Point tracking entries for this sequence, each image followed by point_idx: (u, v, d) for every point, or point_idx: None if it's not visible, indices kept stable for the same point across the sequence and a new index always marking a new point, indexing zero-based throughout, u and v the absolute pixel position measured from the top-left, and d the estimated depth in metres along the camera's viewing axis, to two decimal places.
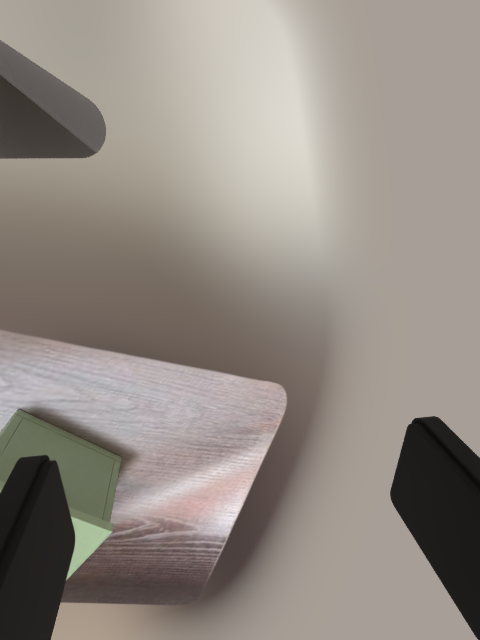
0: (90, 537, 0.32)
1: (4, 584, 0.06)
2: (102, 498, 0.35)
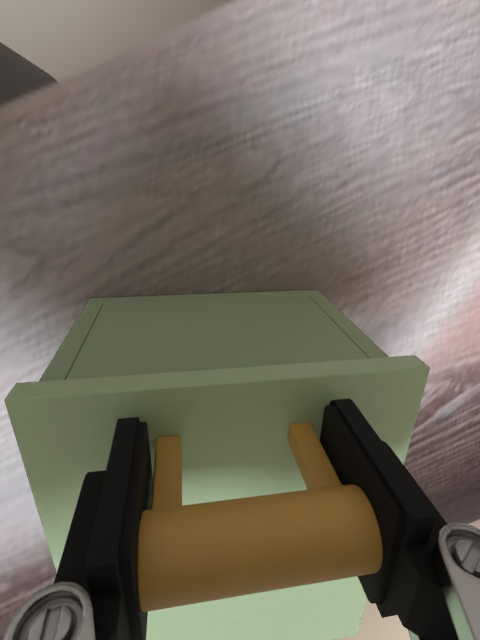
0: (384, 409, 0.11)
1: (136, 510, 0.07)
2: (340, 340, 0.14)
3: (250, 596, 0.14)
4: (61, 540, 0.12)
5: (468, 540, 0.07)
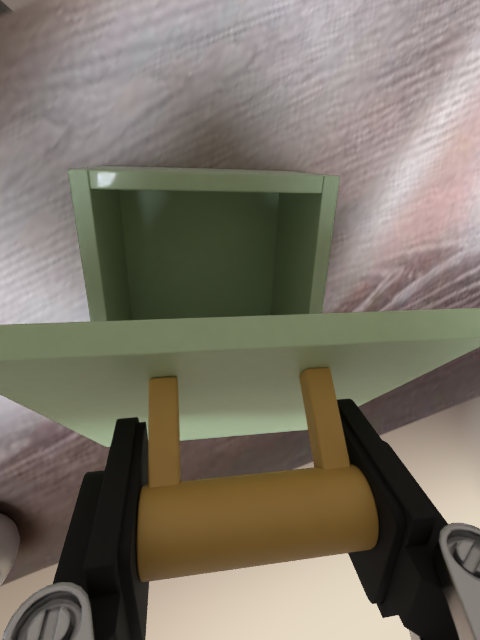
0: (419, 359, 0.10)
1: (135, 510, 0.07)
2: (297, 173, 0.19)
3: (234, 424, 0.17)
4: (59, 415, 0.12)
5: (469, 540, 0.07)
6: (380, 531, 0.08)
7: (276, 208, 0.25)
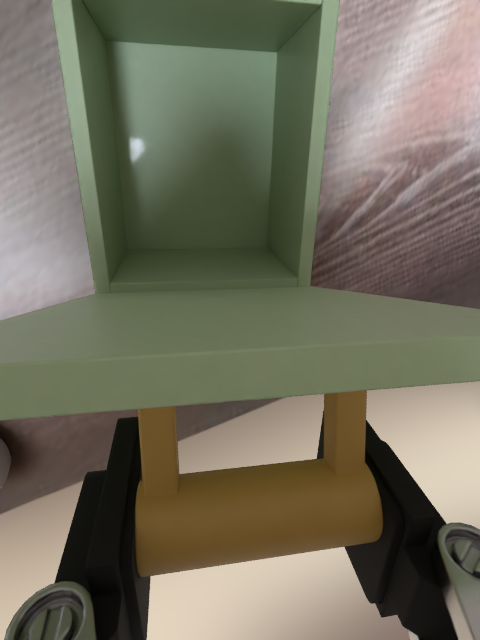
0: None
1: None
2: None
3: None
4: None
5: (468, 540, 0.07)
6: None
7: (273, 82, 0.24)
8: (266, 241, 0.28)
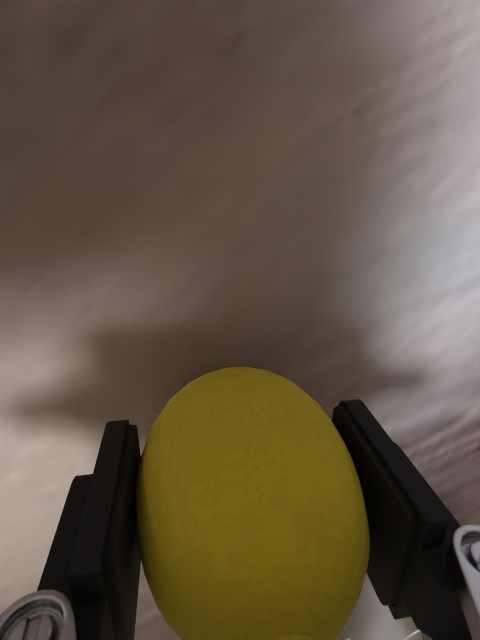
0: None
1: (122, 515, 0.07)
2: None
3: None
4: None
5: None
6: (392, 533, 0.08)
7: None
8: None
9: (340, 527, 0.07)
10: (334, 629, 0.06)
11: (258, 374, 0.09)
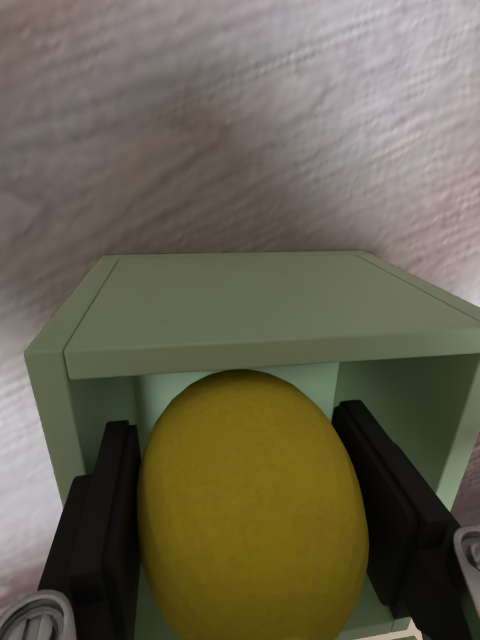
0: None
1: (122, 515, 0.07)
2: (413, 292, 0.12)
3: None
4: None
5: None
6: (392, 533, 0.08)
7: None
8: None
9: (339, 529, 0.07)
10: (333, 631, 0.06)
11: (258, 376, 0.09)
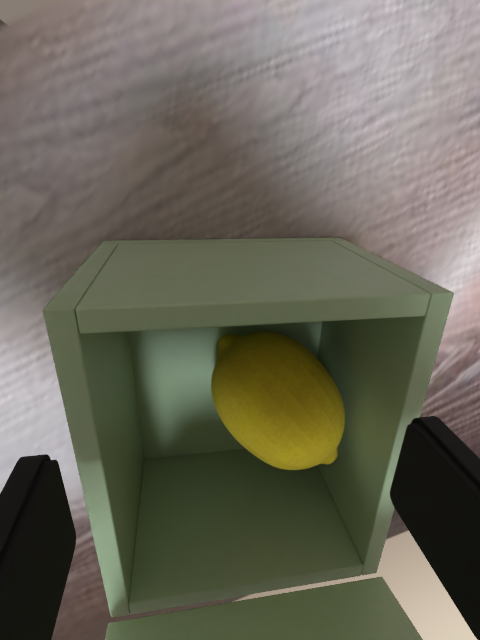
0: None
1: (6, 583, 0.06)
2: (374, 269, 0.14)
3: None
4: None
5: None
6: None
7: None
8: None
9: (344, 411, 0.17)
10: None
11: (289, 352, 0.16)
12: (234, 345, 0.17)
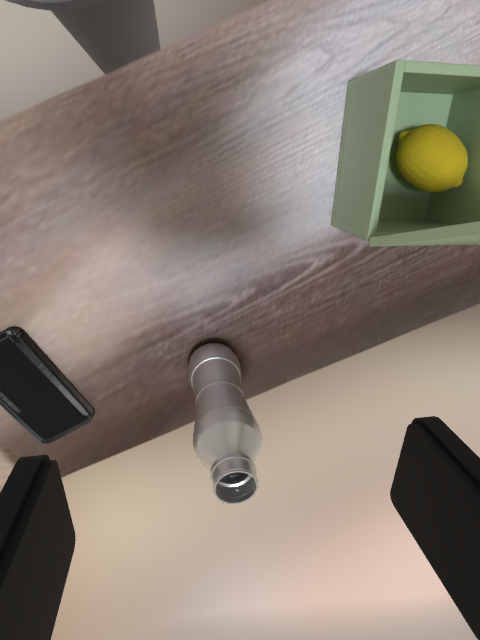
0: None
1: (4, 584, 0.06)
2: None
3: None
4: None
5: None
6: None
7: (448, 112, 0.38)
8: (425, 214, 0.42)
9: None
10: None
11: None
12: (413, 129, 0.35)
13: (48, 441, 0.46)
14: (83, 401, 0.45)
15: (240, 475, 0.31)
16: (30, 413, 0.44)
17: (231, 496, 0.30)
